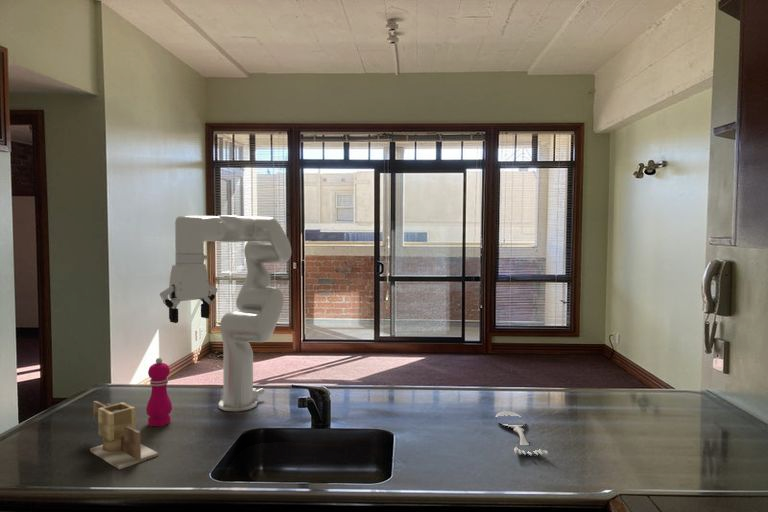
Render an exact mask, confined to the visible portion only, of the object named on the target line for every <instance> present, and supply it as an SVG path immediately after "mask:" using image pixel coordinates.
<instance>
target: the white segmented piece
mask: <svg viewBox="0 0 768 512" xmlns="http://www.w3.org/2000/svg"><path fill="white" fill-rule="evenodd" d="M504 415H505V416H508V415H510V416H519V417H522V416H521V415H520V414H518V413H516V412H513V411H509V410H508V411H500V412H498V413H497V414H495V417H498V416H504ZM503 425H505V426H508V427H507V428H509V427H511V428H510V429H513V431H514V432H515V433H517V434H518V436H519V444H520V445H529V442H528V441H527V439H526V436H525V434H524V432H525V429H524V428H522V426H523V425H508V424H503ZM503 425H502V426H503ZM505 426H504V427H505ZM523 427H524V426H523ZM513 451H514V453H515V455H517V454H519V456H520V455H523V454H524V455H523V456H526V453H525V451H524V450H520V449H518V448H517V446H515V447H514V448H513ZM517 452H518V453H517ZM521 452H522V453H523V454H522V453H521ZM533 452H534V453H535V454H536V455H537V456H543V455H545V456H548V455H549V453H548V450H543V449H540V448H539V450H535V451H533ZM537 452H538V453H539V454H540V455H538V453H537ZM527 453H528V454H529V455H530V457H532V456H533V455H532V453H531V452H529V451H528V452H527ZM529 455H528V456H529ZM536 455H535V456H536Z"/></svg>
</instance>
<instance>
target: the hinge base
mask: <svg viewBox="0 0 768 512" xmlns="http://www.w3.org/2000/svg"><path fill="white" fill-rule="evenodd" d="M115 411H119V410H114V411H111V412H115ZM101 437H102V436H101ZM141 437H142V436H141V431H140V430H137V429H136V428H135V429H134V428H132V427H130V426H128V425H126V426H124V437H121V438H118V439H115V440H112V441H110V440H108V439H106V438H104V437H102V444H101V445H97V446H94V447H91V448H90V449H89V451H90V452H91V453H92V454H94V455H95V456H96V457H99V458H100V459H102V460H103V461H105V462H107V463H108V464H110V465H112V466H113V467H115V468H116V469H118V470H122V469H125V468H127V467H131V466H133V465H137V464H139V463H142V462H146V461H147V459H148V460H150V458H151V459H154V458H156V457H158V456H159V452H157V451H156V450H154V449H152V448H150V447H148V446H146V445H144V444H142V442H141V441H142V440H141ZM153 457H154V458H153Z"/></svg>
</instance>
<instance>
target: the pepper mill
mask: <svg viewBox="0 0 768 512" xmlns="http://www.w3.org/2000/svg"><path fill="white" fill-rule="evenodd" d="M170 372H171V369H170V366H169V365H168V364H166V363H164V362H163V359H162V358H161V357H157V358H156V359H155V363H153V364H151V366H149V368H148V372H147V374H148V376H149V378H150V380H149V382H150V383H149V385H150V386H151V394H150V398H149V400H148V403H147V404H146V407H145V408H146V411H145V412H146V415H148V416H149V417H148V418H147V424H148V426H149V425H150V426H149V427H152V426H160V427H163V426H162V425H165V426H167V425H169V424H170V423H171V415H170V414H171V412H172V411H173V404H172V401H171V399H170V397H169V394H168V391H167V386H168V385H167V384H168V383H169V381H168V380H169V378H168V377H169V375H170ZM168 423H169V424H168ZM166 424H167V425H166Z"/></svg>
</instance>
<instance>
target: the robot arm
mask: <svg viewBox="0 0 768 512" xmlns="http://www.w3.org/2000/svg"><path fill="white" fill-rule="evenodd" d="M174 230H175V231H174V234H175V235H174V236H175V238H174V239H175V240H174V241H175V242H174V243H175V251H174V253H175V254H174V255H175V264H173V265H172V266H171V270H170V275H169V283H168V284H169V285H168V286H169V287H167V288H166V289H165V290H163V291H161V292H160V293H159V296H160V298H161V300H162V303H163V304H164V305H165V306H166V307H167V308H168V320H169V322H170V323H174V324H178V322H179V309H178V308H177V307H178V306H179V304H180V303H181V302H185V301H186V302H187V301H197V300H200V301H201V302H202V303H200V317H201V318H203V319H209V318H210V314H211V313H210V310H211V308H210V305H211V304H212V302H213V300H215V297H216V294H217V292H218V288H217V287H215V286H213V285H211V284H209V277H208V276H209V274H208V269H207V265H206V264H205V260H206V261H207V259H208V256H207V255H206V254H205V253H204V252H205V247H204V246H205V242H219V243H220V242H221V243H237V242H238V243H239V242H240V243H242V242H245V245H244V253H243V254H244V258H245V262H246V269H247V273H246V277H245V280H244V282H243V284H242V286H241V288H240V290H239V293H238V294H237V297H236V300H235V302H236V303H235V305H236V308H237V309H238V311H237V310H235V311H229V312H226V313H225V314H224V315H223V316H222V317H221V319H220V327H219V328H220V329H219V330H220V334H221V339H222V345H223V346H222V348H223V358H222V359H223V363H222V364H223V365H222V366H223V367H222V368H223V374H222V375H223V377H222V378H223V394H222V395H223V397H222V398H223V399H221V400H219V402H218V408H219V409H220V410H223V411H225V412H242V411H243V412H244V411H248V410H252V409H254V408H255V407H257V405H258V399H257V397H258V396H260V395H264V394H265V389H264V388H263V387H262V388H258V389H257V388H254V352H253V348H252V346H251V344H250V343H249V342H252V343H253V342H254V343H265V342H268V341H269V340H270V339H271V338H272V336H273V334H274V331H275V329H276V326H277V323H278V321H279V318H280V317H281V316H280V315H281V313H282V310H283V307H284V293H283V292H282V291H281V289H280V288H278V287H274V286H271V285H270V284H271V281H272V278H271V274H270V272H269V271H268V269H267V268H266V265H265V264H266V263H267V264H285V263H287V262H288V261H290V259H291V256H292V246H291V243H290V241H289V239H288V238H287V235H286V233H285V230H284V229H283V227H282V226H281V224H280V222H279V221H278V220H277V219H276V218H275V217H271V216H244V215H242V216H241V215H217V216H216V215H179V216H177V217H176V218H175V222H174ZM209 291H210V292H209Z"/></svg>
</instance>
